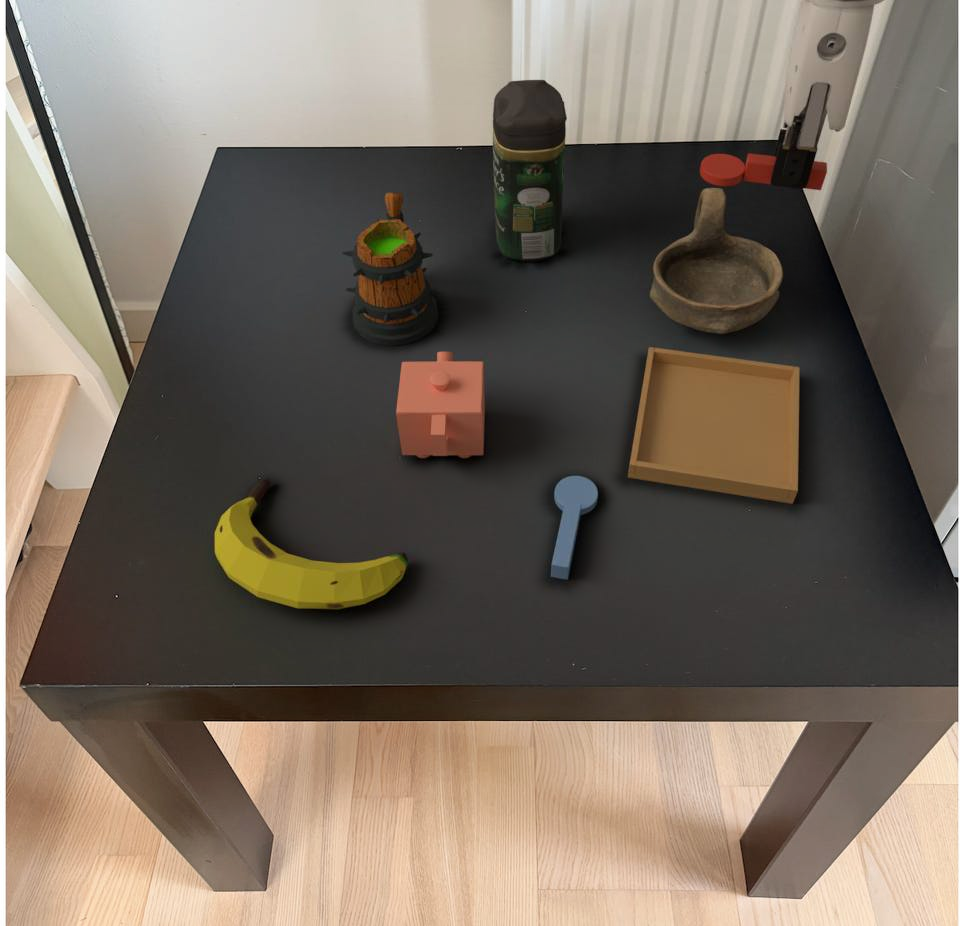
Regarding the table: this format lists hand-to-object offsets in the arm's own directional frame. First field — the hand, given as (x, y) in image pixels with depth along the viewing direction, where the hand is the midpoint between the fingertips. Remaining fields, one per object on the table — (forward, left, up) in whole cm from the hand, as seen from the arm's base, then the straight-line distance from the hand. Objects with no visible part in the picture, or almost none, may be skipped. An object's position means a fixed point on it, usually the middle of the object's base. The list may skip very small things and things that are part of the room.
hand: (788, 177), depth 83 cm
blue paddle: (+14, +29, -19) cm, 38 cm away
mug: (+38, +3, -19) cm, 43 cm away
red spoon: (+2, 0, 0) cm, 3 cm away
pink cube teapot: (+28, +20, -19) cm, 40 cm away
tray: (+2, +14, -19) cm, 24 cm away
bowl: (+4, -5, -19) cm, 21 cm away
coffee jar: (+26, -12, -19) cm, 35 cm away
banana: (+36, +36, -19) cm, 55 cm away
